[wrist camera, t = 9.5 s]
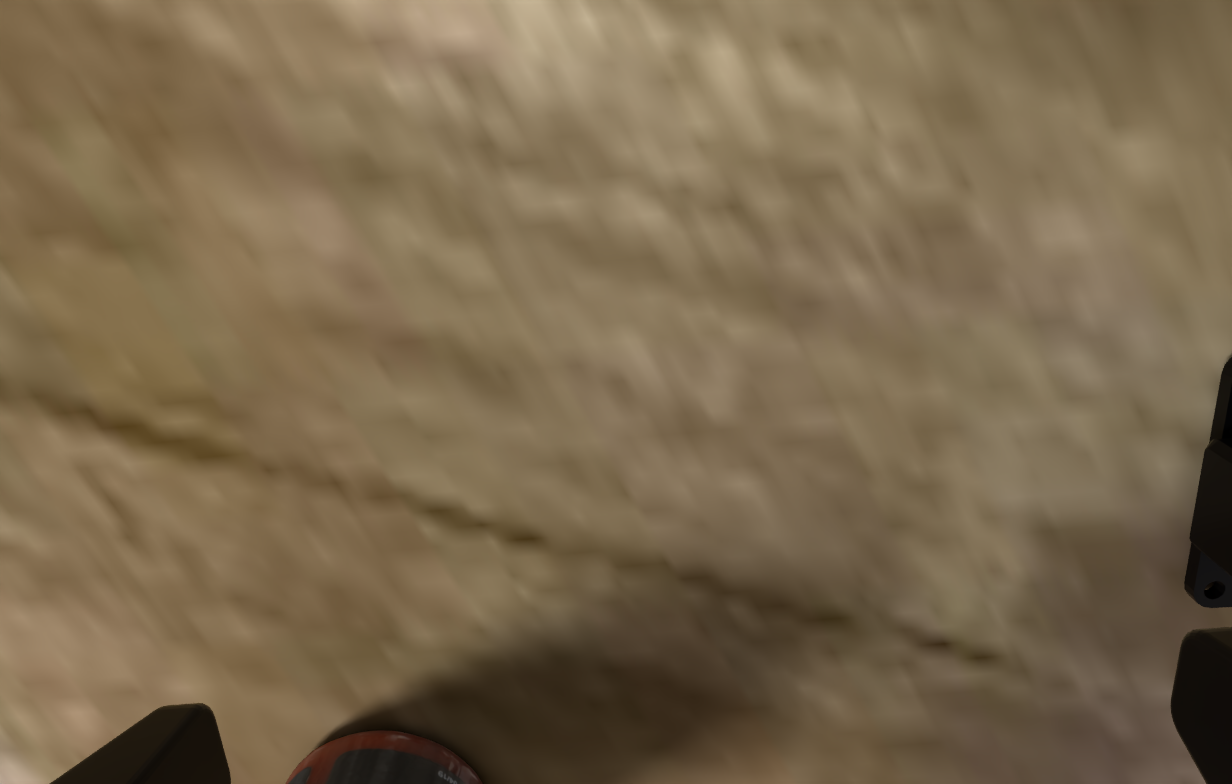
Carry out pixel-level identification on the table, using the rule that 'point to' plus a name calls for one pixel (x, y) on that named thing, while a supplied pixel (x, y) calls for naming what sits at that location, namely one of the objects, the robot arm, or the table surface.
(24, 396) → the table surface
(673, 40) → the table surface
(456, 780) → the supplement bottle
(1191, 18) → the table surface
